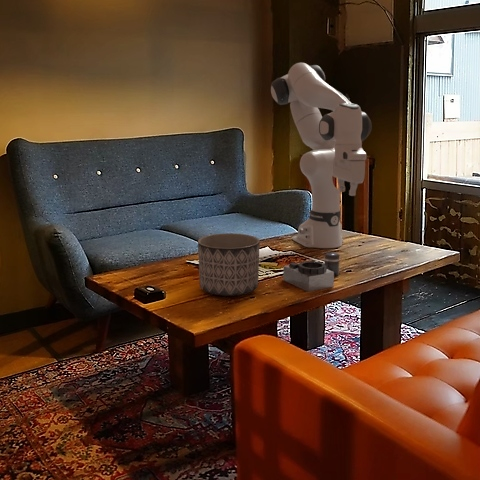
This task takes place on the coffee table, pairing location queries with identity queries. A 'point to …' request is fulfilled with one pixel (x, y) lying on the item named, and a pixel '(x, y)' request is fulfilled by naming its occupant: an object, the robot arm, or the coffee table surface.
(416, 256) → the coffee table surface
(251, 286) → the planter
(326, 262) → the lens
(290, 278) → the camera body
